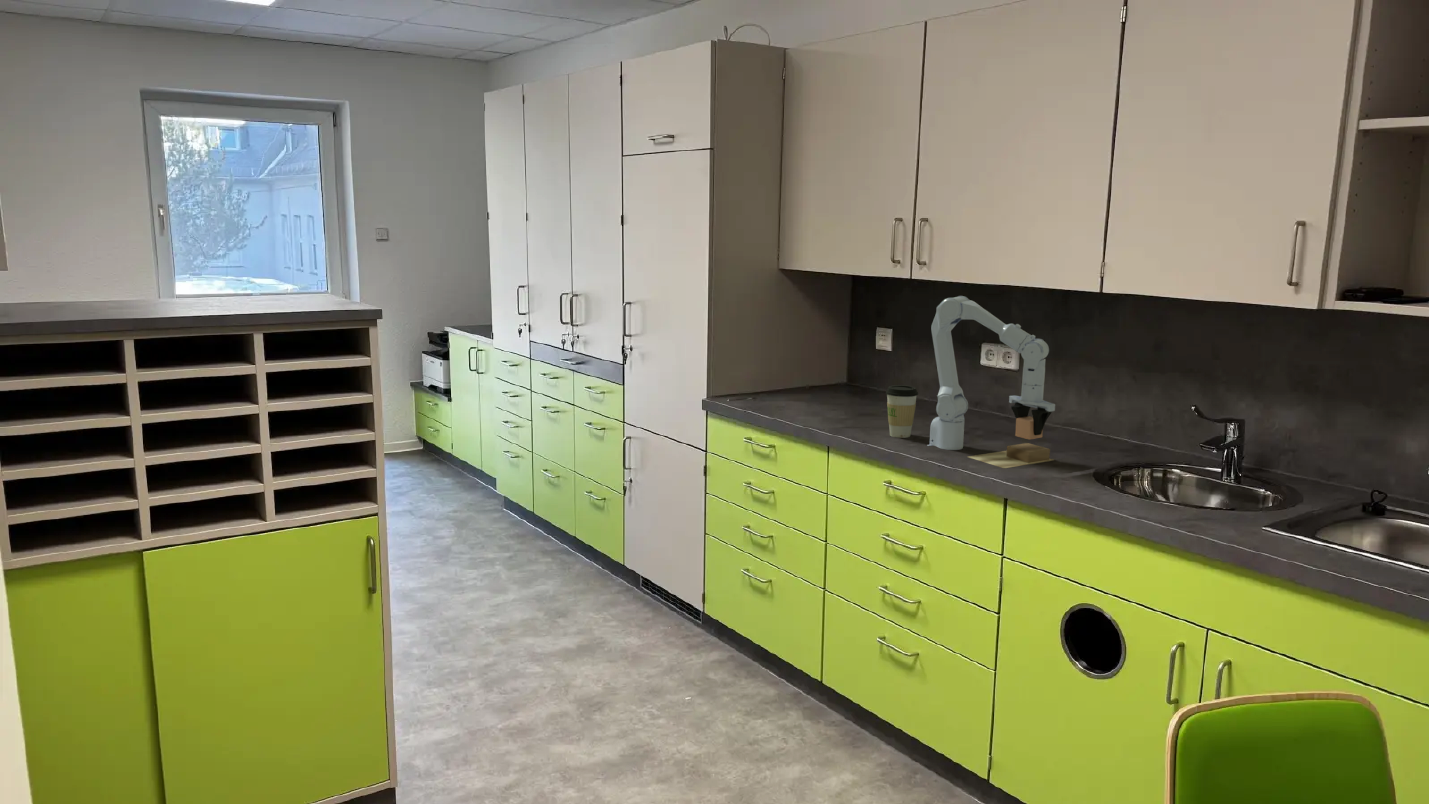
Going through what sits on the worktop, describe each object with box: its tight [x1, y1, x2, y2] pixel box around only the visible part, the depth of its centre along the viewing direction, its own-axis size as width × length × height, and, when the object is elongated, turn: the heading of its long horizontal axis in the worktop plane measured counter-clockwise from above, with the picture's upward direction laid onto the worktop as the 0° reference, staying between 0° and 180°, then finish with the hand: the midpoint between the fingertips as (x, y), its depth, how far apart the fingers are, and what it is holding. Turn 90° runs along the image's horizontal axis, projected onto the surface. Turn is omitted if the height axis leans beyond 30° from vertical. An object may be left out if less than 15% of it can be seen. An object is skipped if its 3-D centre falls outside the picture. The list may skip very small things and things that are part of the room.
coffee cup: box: [885, 384, 919, 439], centre depth 292 cm, size 10×10×15 cm
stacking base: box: [967, 442, 1054, 469], centre depth 262 cm, size 14×19×4 cm
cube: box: [1014, 415, 1044, 440], centre depth 261 cm, size 5×5×5 cm
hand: (1029, 432), depth 262 cm, fingers closed on cube, 5 cm apart
